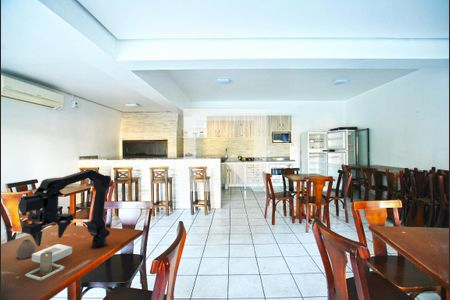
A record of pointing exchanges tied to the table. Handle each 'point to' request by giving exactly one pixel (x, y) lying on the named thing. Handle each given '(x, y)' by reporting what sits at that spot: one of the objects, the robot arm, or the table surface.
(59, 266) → the tray
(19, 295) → the table surface
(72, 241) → the table surface
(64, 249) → the white block with recess
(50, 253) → the plug
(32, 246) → the vase
